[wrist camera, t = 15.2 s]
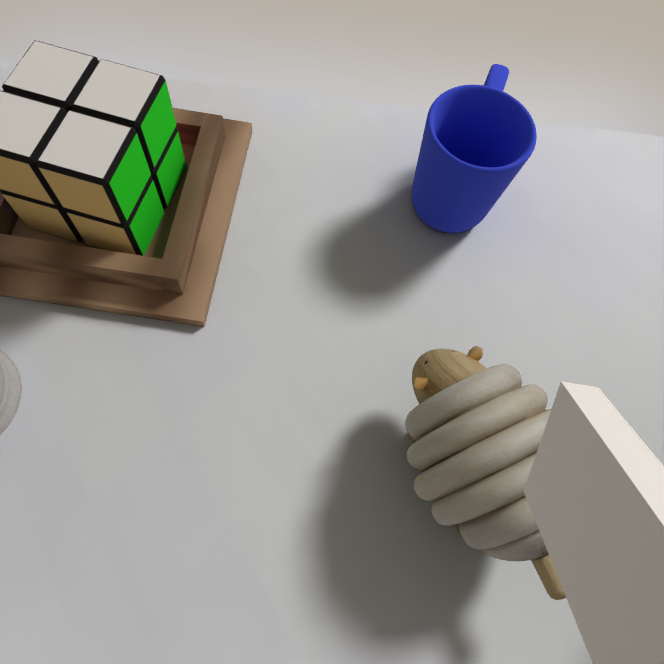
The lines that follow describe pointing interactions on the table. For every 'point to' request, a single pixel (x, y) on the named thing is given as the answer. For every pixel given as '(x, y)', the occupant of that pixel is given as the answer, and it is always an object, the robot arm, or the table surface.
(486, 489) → the toy sheep
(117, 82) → the puzzle cube
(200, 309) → the docking cradle
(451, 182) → the mug
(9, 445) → the table surface
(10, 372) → the white pitcher
